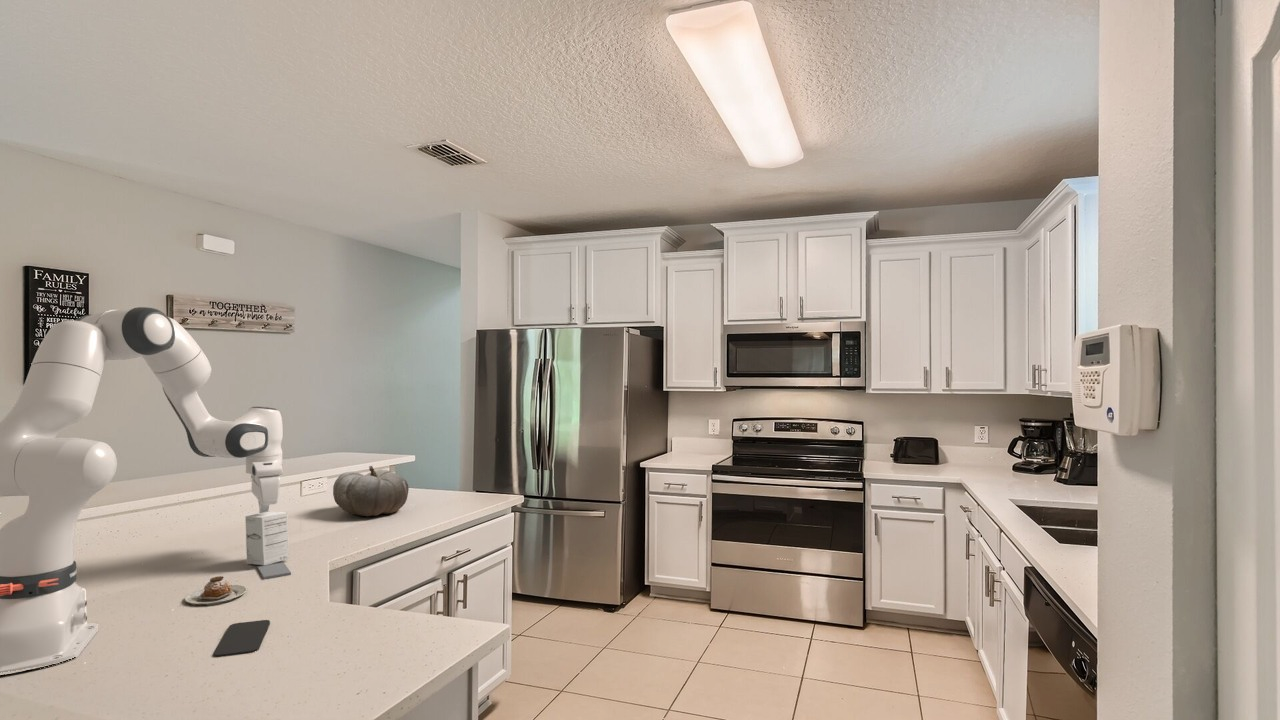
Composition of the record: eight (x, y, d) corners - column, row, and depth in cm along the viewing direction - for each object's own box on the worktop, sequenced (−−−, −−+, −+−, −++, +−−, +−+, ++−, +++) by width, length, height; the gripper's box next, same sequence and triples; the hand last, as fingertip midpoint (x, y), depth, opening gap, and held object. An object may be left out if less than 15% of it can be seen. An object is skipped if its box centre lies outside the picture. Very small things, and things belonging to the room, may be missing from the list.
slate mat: (290, 574, 166) (290, 572, 166) (263, 579, 163) (263, 576, 163) (283, 564, 174) (283, 562, 174) (257, 568, 171) (257, 566, 171)
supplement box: (245, 564, 174) (244, 516, 175) (272, 557, 181) (270, 510, 181) (263, 566, 171) (261, 517, 171) (290, 558, 177) (288, 511, 178)
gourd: (312, 510, 224) (323, 459, 226) (362, 507, 248) (372, 461, 250) (372, 524, 217) (383, 471, 219) (418, 519, 240) (427, 472, 242)
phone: (211, 655, 121) (229, 623, 135) (211, 660, 121) (229, 627, 135) (258, 649, 123) (271, 619, 137) (258, 654, 123) (271, 623, 137)
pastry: (259, 592, 155) (259, 573, 155) (213, 611, 143) (213, 590, 143) (218, 587, 158) (219, 567, 158) (171, 604, 147) (171, 584, 147)
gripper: (245, 460, 188) (245, 509, 189) (256, 471, 172) (256, 524, 172) (270, 459, 192) (270, 506, 192) (283, 469, 176) (283, 521, 176)
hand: (263, 515), depth 182 cm, fingers closed
